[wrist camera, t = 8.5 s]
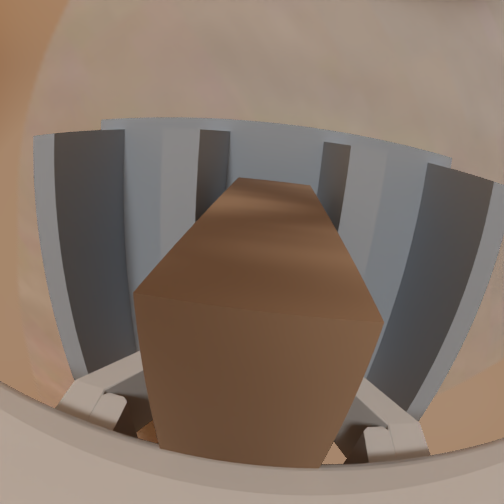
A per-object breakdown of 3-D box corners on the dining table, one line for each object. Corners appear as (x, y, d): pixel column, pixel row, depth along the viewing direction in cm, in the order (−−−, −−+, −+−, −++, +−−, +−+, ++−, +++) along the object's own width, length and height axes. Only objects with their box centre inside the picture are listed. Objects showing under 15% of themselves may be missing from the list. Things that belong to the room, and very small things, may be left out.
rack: (442, 156, 12) (521, 175, 7) (379, 372, 17) (403, 448, 12) (111, 119, 13) (28, 121, 7) (124, 341, 18) (81, 408, 12)
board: (310, 185, 10) (384, 322, 3) (276, 384, 13) (266, 548, 6) (238, 177, 10) (133, 292, 3) (224, 378, 14) (188, 538, 6)
